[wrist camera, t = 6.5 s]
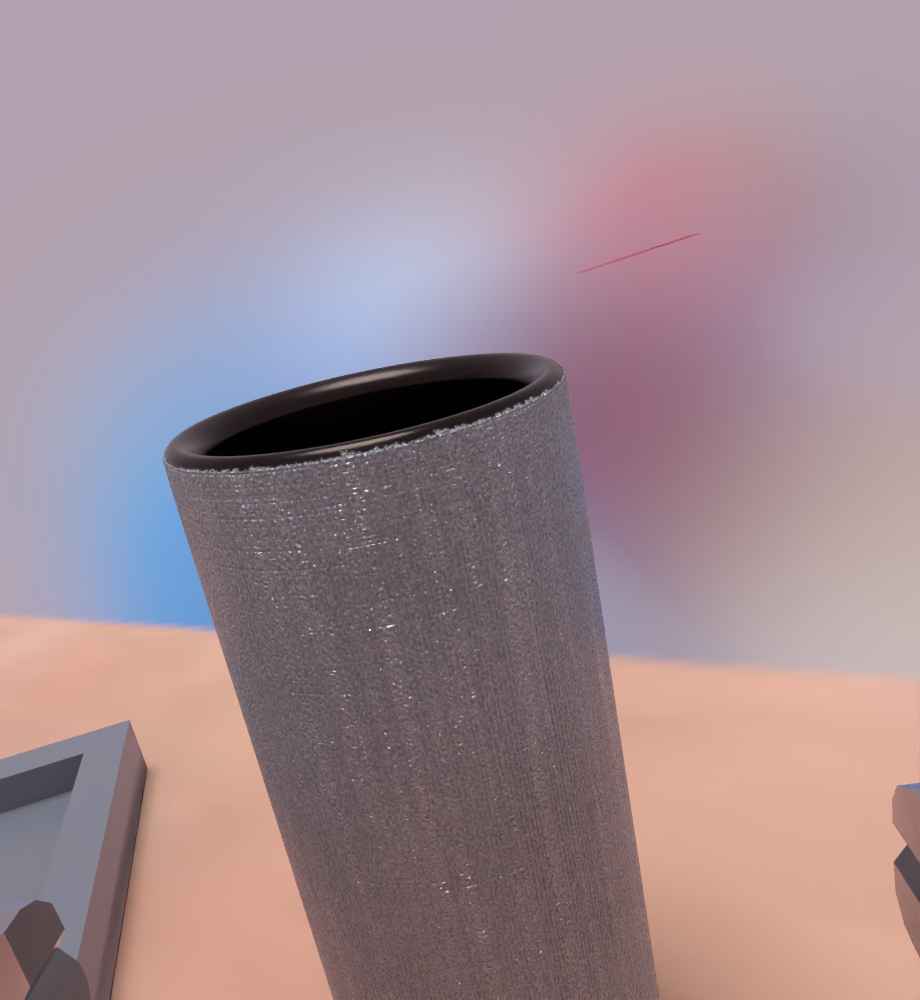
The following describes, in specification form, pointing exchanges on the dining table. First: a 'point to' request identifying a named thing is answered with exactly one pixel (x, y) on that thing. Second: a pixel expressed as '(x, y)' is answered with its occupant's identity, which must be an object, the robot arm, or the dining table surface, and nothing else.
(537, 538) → the grey cylindrical container
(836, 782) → the dining table surface
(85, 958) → the tray
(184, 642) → the dining table surface
